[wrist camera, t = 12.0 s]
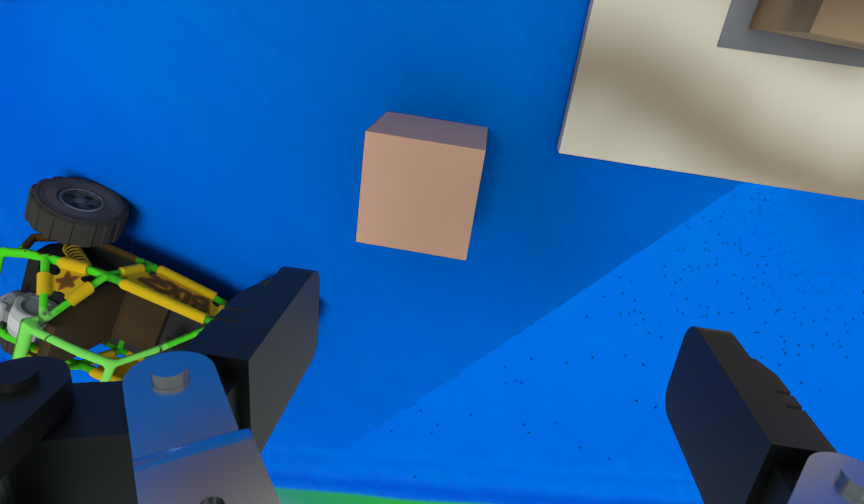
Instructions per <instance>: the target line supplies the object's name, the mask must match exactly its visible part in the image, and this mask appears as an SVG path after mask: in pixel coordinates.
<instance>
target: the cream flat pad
mask: <svg viewBox="0 0 864 504" xmlns="http://www.w3.org/2000/svg"><path fill="white" fill-rule="evenodd" d="M758 2H759V0H590V4H589V8H588V13H587V17H586V22H585V26H584V31H583V35H582V39H581V44H580V48H579V53H578V57H577V61H576V66H575V70H574V75H573V79H572V84H571V88H570V92H569V97H568V101H567V106H566V110H565V114H564V119H563V123H562V128H561V132H560V137H559V141H558V145H557V150H558V152H559V153H562V154H568V155H575V156H581V157H588V158H594V159H601V160H607V161H614V162H620V163H627V164H633V165H640V166H646V167H653V168H659V169H666V170H672V171H679V172H685V173H692V174H698V175H704V176H711V177H717V178H724V179H730V180H737V181H743V182H750V183H756V184H763V185H769V186H776V187H782V188H789V189H795V190H802V191H808V192H815V193H821V194H828V195H834V196H840V197H847V198H853V199H860V200H864V50H859V49H854V48H849V47H844V46H838V45H833V44H828V43H823V42H817V41H812V40H807V39H802V38H797V37H791V36H786V35H781V34H776V33H770V32H765V31H760V30H755V29H749V25H750V22H751V20H752V17H753V15H754V12H755V9H756V7H757V4H758Z"/></svg>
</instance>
